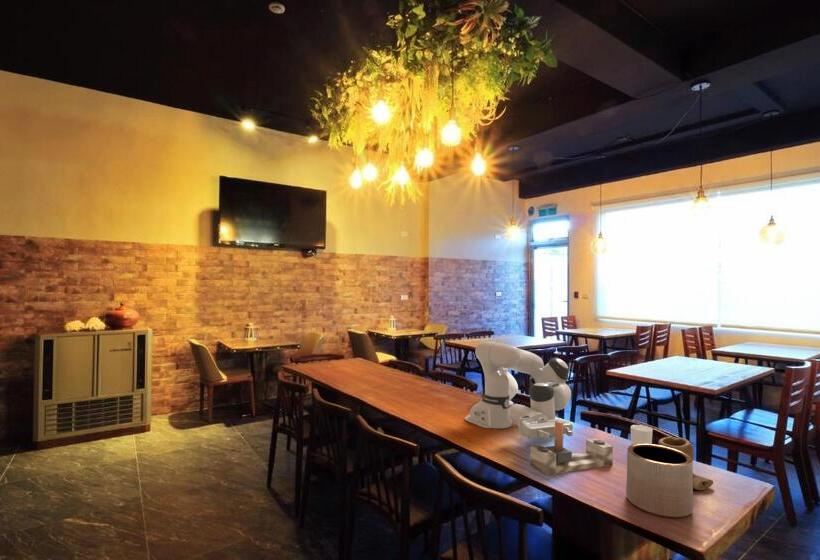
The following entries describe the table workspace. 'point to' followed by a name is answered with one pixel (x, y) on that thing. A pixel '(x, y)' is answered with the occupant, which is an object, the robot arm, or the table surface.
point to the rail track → (592, 458)
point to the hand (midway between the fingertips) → (560, 435)
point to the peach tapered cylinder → (560, 445)
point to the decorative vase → (511, 385)
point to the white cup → (641, 434)
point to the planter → (660, 480)
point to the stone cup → (687, 448)
